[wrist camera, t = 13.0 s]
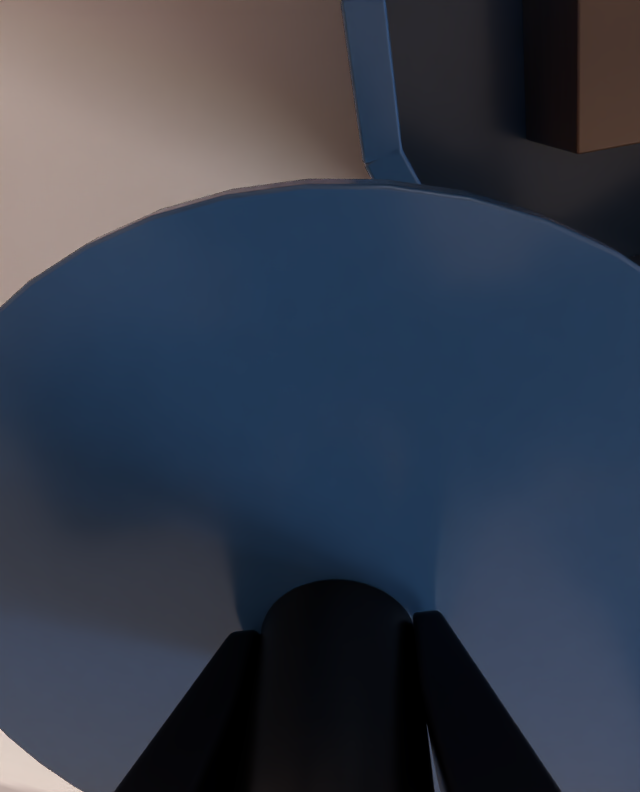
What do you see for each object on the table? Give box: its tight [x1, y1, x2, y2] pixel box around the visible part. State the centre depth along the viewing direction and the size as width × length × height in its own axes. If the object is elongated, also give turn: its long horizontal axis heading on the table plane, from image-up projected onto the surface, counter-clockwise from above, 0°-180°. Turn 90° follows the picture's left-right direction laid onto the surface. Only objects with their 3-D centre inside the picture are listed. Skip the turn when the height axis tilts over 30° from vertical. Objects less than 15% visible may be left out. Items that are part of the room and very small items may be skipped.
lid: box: [0, 179, 640, 792], centre depth 8 cm, size 13×13×5 cm
